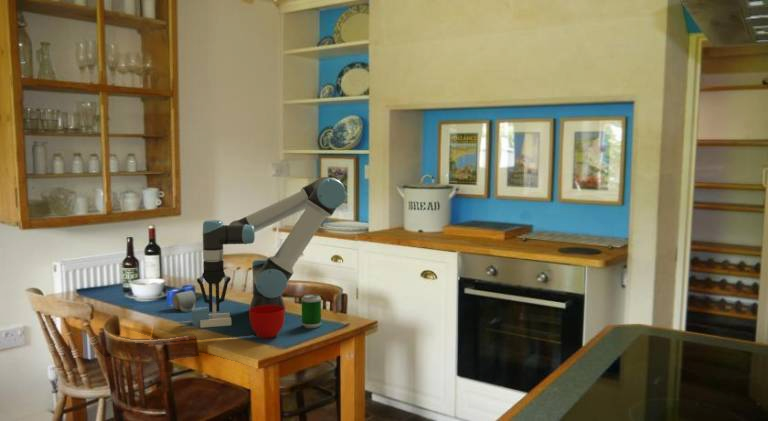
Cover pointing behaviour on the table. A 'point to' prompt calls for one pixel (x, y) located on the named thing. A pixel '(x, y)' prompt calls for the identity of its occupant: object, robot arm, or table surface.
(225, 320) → the chute
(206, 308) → the block
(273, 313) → the ceramic cup
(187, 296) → the ceramic mug
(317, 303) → the soda can
